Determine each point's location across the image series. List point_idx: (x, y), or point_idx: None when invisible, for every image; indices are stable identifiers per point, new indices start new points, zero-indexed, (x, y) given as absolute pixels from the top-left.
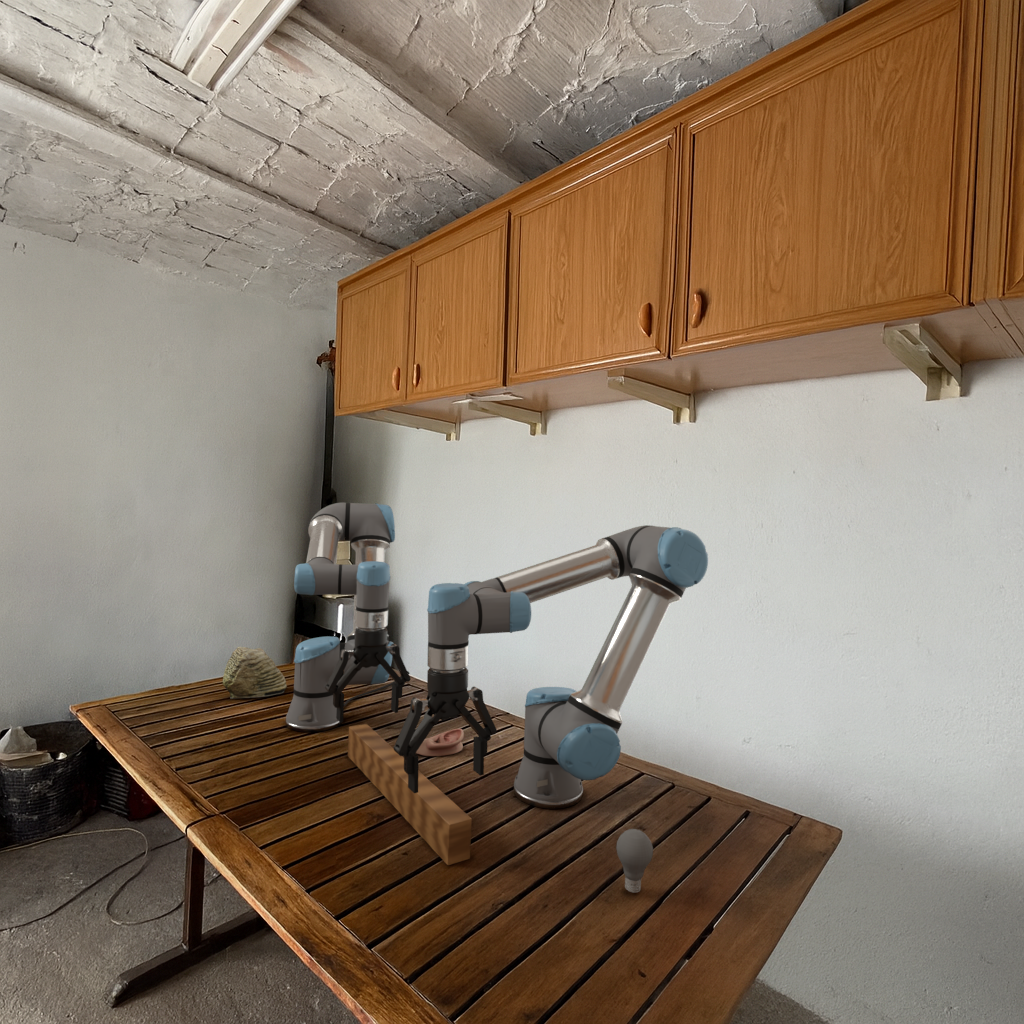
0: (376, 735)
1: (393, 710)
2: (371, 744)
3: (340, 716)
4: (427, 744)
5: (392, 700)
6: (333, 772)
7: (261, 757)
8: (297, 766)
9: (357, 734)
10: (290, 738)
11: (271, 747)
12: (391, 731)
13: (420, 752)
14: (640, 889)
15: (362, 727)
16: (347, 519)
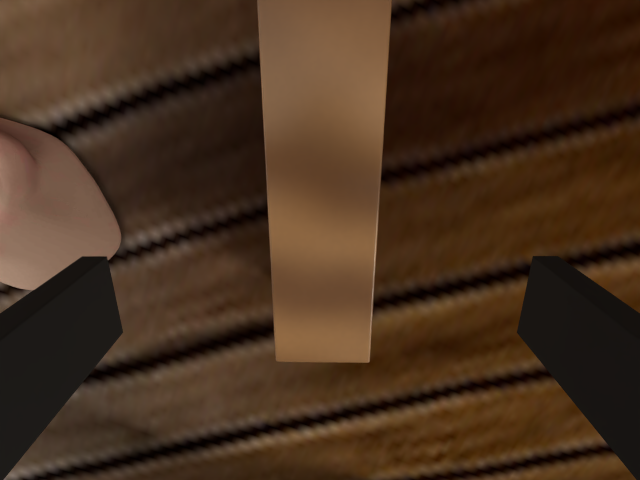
0: (282, 193)
1: (110, 292)
2: (363, 62)
3: (584, 276)
4: (24, 168)
5: (74, 362)
6: (463, 176)
7: None
8: None
9: (372, 252)
10: (463, 476)
11: (542, 442)
12: (143, 408)
13: (79, 172)
14: None
15: (311, 327)
16: None
